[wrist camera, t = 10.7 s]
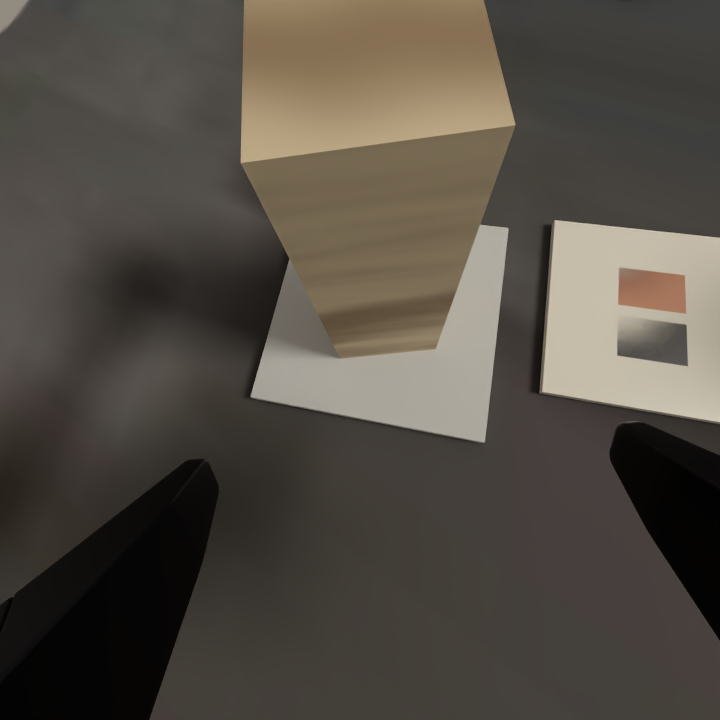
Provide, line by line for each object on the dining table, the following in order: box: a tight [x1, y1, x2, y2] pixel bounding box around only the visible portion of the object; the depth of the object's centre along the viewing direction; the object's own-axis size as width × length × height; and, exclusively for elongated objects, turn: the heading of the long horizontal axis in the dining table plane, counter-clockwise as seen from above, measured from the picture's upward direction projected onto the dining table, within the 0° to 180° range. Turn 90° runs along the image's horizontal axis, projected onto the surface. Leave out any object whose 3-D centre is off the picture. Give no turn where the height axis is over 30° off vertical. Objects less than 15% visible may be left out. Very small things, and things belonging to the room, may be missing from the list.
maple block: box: [241, 0, 515, 359], centre depth 14 cm, size 5×5×13 cm
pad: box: [251, 225, 508, 443], centre depth 20 cm, size 12×12×1 cm
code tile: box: [539, 220, 720, 424], centre depth 19 cm, size 10×10×1 cm
